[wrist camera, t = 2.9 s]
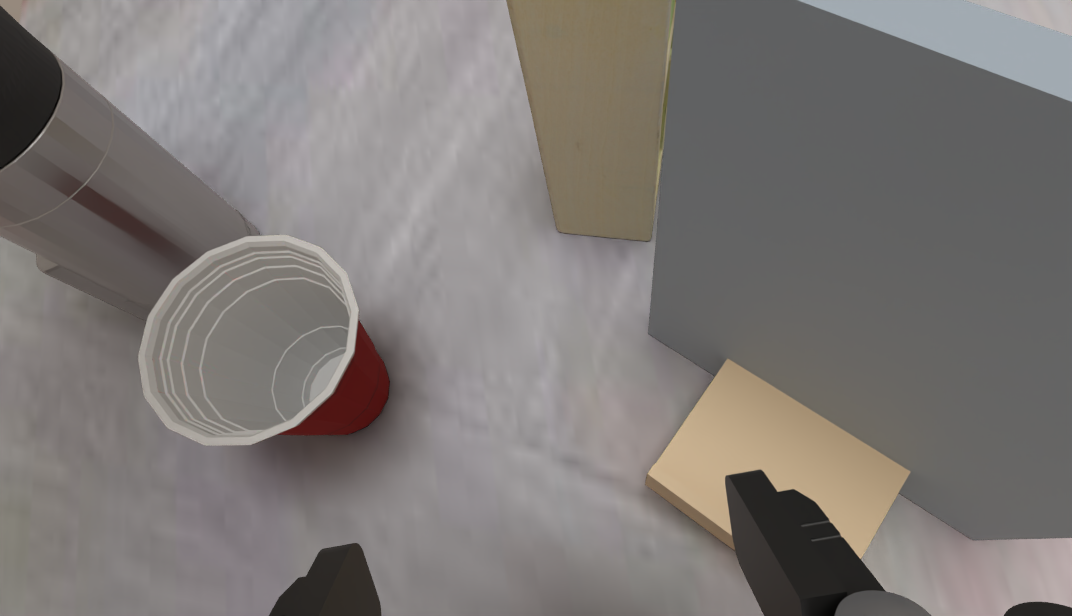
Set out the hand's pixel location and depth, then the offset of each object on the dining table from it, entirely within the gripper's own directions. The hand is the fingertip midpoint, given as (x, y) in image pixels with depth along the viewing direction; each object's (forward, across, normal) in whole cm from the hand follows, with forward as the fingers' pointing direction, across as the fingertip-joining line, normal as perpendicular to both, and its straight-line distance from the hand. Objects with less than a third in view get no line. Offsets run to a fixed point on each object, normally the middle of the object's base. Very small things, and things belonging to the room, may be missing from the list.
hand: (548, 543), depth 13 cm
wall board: (+20, +13, -10) cm, 26 cm away
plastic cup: (+25, -14, -5) cm, 29 cm away
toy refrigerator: (+32, +6, +4) cm, 33 cm away
